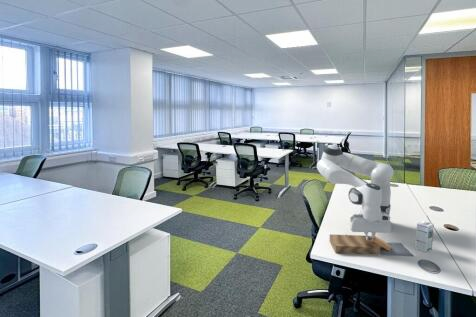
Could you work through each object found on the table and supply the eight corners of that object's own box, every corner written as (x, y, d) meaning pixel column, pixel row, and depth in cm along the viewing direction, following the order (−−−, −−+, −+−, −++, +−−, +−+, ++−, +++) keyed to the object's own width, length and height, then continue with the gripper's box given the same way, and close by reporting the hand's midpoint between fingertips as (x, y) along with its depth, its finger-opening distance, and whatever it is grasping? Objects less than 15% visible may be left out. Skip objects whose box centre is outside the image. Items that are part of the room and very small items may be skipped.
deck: (335, 253, 147) (335, 245, 146) (329, 241, 161) (329, 234, 160) (379, 254, 145) (380, 247, 144) (369, 242, 159) (370, 235, 158)
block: (374, 242, 148) (376, 239, 148) (370, 237, 154) (372, 234, 154) (389, 251, 148) (391, 247, 148) (384, 245, 154) (386, 242, 154)
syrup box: (426, 252, 147) (429, 226, 145) (414, 248, 152) (416, 222, 150) (431, 250, 150) (434, 223, 148) (419, 245, 155) (422, 220, 153)
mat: (380, 254, 145) (380, 254, 145) (370, 242, 159) (370, 241, 159) (413, 256, 144) (413, 255, 143) (400, 243, 157) (400, 243, 157)
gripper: (352, 216, 147) (350, 241, 149) (393, 217, 145) (391, 242, 147) (348, 212, 153) (347, 236, 156) (388, 213, 151) (386, 237, 154)
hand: (369, 239), depth 151 cm, fingers closed
